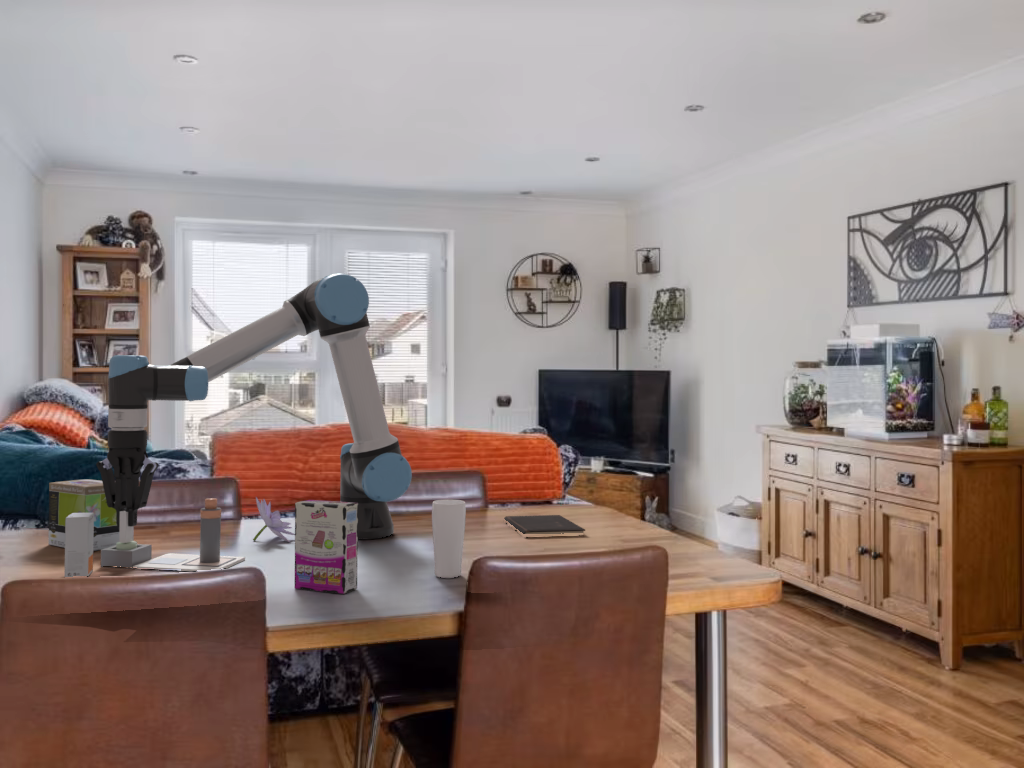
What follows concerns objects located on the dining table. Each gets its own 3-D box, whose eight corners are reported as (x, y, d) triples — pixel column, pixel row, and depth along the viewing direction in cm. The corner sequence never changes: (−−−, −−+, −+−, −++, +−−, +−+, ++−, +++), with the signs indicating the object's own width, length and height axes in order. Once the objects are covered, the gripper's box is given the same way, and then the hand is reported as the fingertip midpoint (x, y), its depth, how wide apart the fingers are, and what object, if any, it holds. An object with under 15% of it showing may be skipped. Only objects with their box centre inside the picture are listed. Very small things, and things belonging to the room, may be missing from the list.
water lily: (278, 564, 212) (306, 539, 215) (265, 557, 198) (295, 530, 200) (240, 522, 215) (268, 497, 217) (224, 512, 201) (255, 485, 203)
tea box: (125, 546, 199) (126, 482, 198) (83, 553, 190) (84, 486, 190) (88, 538, 207) (88, 477, 207) (46, 545, 198) (47, 481, 198)
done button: (141, 550, 182) (141, 541, 182) (129, 554, 178) (129, 545, 178) (123, 549, 182) (123, 540, 182) (112, 553, 179) (112, 544, 179)
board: (245, 559, 186) (245, 556, 186) (215, 573, 173) (215, 569, 173) (167, 555, 188) (167, 552, 188) (132, 569, 176) (132, 565, 176)
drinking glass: (431, 572, 177) (432, 499, 177) (464, 572, 177) (465, 499, 177) (430, 580, 170) (431, 504, 170) (465, 579, 171) (466, 504, 170)
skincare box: (88, 578, 168) (88, 516, 167) (64, 579, 166) (64, 517, 166) (93, 571, 173) (94, 511, 173) (70, 572, 172) (71, 512, 172)
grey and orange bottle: (223, 559, 182) (224, 498, 183) (214, 563, 178) (215, 500, 178) (205, 558, 183) (206, 497, 183) (195, 562, 179) (197, 499, 179)
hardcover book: (559, 523, 241) (559, 514, 241) (585, 538, 219) (585, 529, 219) (503, 524, 237) (503, 516, 237) (524, 540, 215) (524, 531, 215)
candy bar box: (358, 589, 162) (359, 502, 162) (344, 595, 158) (345, 505, 157) (308, 583, 166) (309, 498, 166) (292, 589, 162) (293, 501, 161)
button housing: (151, 561, 183) (151, 544, 183) (132, 568, 176) (132, 551, 176) (121, 559, 184) (121, 543, 184) (100, 566, 177) (100, 549, 177)
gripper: (87, 429, 177) (86, 543, 177) (146, 430, 175) (144, 546, 175) (110, 427, 185) (109, 536, 185) (166, 428, 183) (165, 539, 183)
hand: (126, 541), depth 180 cm, fingers closed
